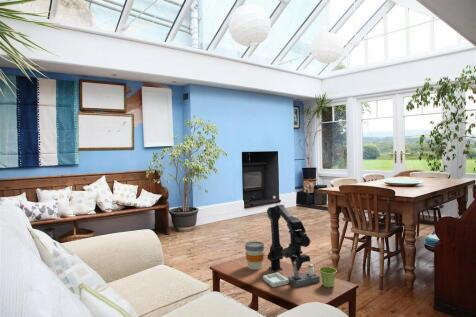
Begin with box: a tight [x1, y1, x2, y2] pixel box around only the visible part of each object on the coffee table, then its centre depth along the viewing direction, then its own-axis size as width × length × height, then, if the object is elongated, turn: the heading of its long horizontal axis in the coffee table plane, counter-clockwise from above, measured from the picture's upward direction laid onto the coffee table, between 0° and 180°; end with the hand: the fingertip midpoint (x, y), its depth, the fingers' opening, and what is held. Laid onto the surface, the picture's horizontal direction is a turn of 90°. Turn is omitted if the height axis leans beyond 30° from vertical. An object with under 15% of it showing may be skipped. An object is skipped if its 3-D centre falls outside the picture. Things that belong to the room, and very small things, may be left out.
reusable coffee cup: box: [244, 241, 265, 270], centre depth 203 cm, size 13×13×15 cm
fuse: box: [307, 263, 315, 277], centre depth 179 cm, size 3×3×9 cm
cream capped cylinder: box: [293, 261, 300, 279], centre depth 175 cm, size 3×3×9 cm
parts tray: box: [262, 272, 290, 288], centre depth 179 cm, size 12×10×2 cm
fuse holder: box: [287, 272, 321, 288], centre depth 177 cm, size 8×16×3 cm, turn 114°
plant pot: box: [318, 266, 338, 288], centre depth 172 cm, size 9×9×9 cm
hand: (296, 269), depth 175 cm, fingers closed on cream capped cylinder, 3 cm apart
